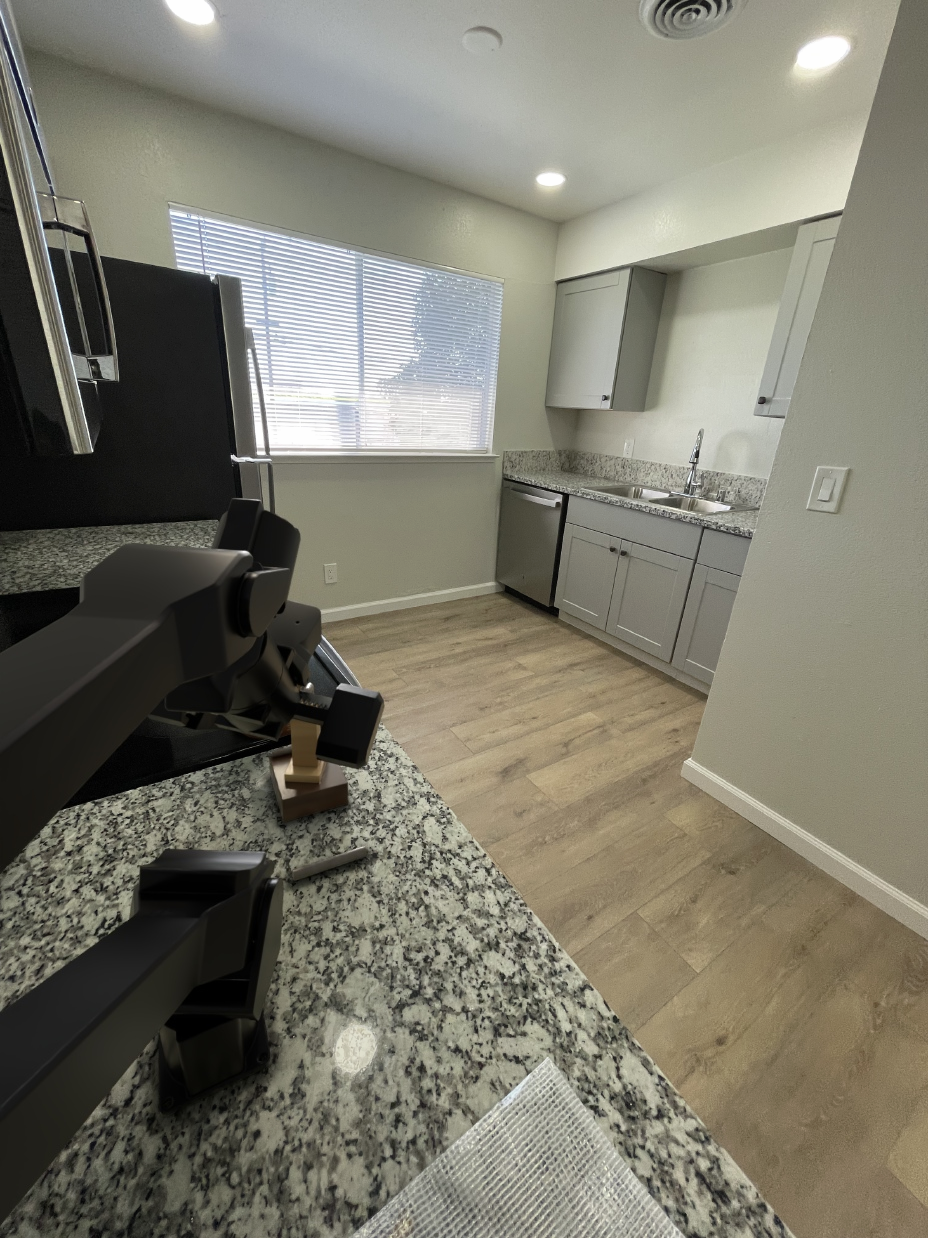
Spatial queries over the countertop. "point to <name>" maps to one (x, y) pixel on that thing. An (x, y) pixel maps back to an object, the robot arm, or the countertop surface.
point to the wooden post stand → (304, 750)
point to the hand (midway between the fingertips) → (287, 733)
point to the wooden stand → (311, 804)
